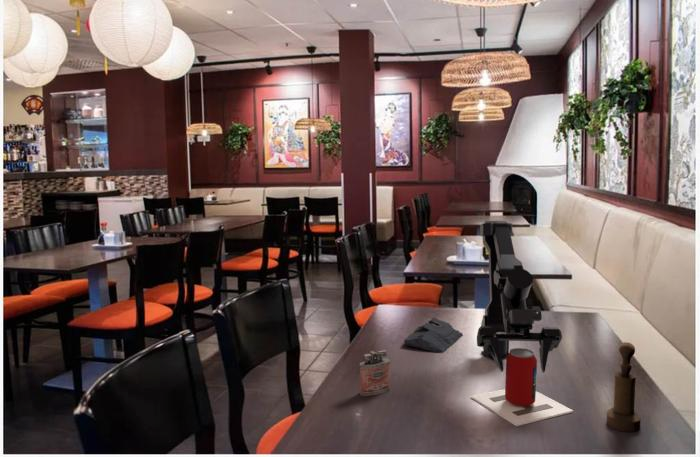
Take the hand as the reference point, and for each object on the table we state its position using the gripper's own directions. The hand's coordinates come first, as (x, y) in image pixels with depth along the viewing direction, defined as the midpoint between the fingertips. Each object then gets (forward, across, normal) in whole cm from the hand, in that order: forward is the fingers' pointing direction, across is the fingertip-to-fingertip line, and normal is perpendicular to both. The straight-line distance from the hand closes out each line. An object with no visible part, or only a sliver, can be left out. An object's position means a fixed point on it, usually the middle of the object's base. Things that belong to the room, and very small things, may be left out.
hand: (522, 371), depth 129 cm
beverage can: (+5, 0, +7) cm, 8 cm away
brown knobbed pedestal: (+11, +20, +1) cm, 23 cm away
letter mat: (+5, 0, +7) cm, 9 cm away
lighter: (+2, -34, +11) cm, 36 cm away
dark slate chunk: (-27, -18, +40) cm, 52 cm away
